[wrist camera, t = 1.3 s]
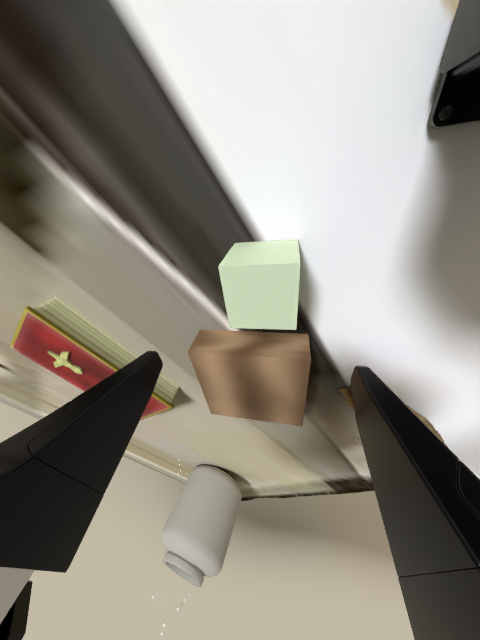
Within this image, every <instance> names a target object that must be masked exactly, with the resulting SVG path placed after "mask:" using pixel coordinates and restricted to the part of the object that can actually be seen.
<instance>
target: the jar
mask: <svg viewBox="0 0 480 640" xmlns="http://www.w3.org/2000/svg"><path fill="white" fill-rule="evenodd" d="M179 461H180V460H179ZM179 465H180V464H179ZM180 471H181V470H180ZM178 474H179V473H178ZM241 498H242V495H241V490H240V488H239V486H238V484H237V483H236V481H235V480H234V479H233V478H232V477H231V476H230V475H228V474H227V473H226V472H224V471H222V470H221V469H219V468H216V467H214V466H210V465H200V466H197V467H196V468H194V469H193V471H192V472H191V474H190V476H189V478H188V480H187V482H186V484H185V486H184V488H183V490H182V492H181V494H180V496H179V498H178V500H177V502H176V504H175V506H174V508H173V510H172V512H171V514H170V516H169V518H168V520H167V522H166V524H165V526H164V528H163V531H162V536H161V537H162V542H163V546H164V547H165V549H166V550H167V551H168V552H167V553H166V554H165V556H164V559H163V562H164V563H165V565H166V566H168V567H169V568H170V569H171V570H172V571H174V572H175V573H176V574H178V575H179V576H181V577H182V578H183V579H185V580H186V581H188V582H190V583H192V584H193V585H195V586H198V587H199V589H200V587H201V586H202V583H203V580H204V577H203V576H206V577H212V576H215V575H217V574H218V573H219V572H220V571H221V569H222V566H223V562H224V559H225V556H226V552H227V549H228V545H229V541H230V538H231V534H232V531H233V528H234V524H235V520H236V517H237V513H238V510H239V506H240V503H241ZM159 593H160V592H158V594H159ZM190 596H191V594H190ZM152 599H154V596H153V597H152ZM185 600H186V599H184V601H185ZM160 603H161V601H160ZM182 605H183V603H181V606H182ZM177 611H179V608H177ZM165 626H166V622H164V623H163V627H165ZM163 634H164V632H163V631H162V632H161V635H162V636H163Z"/></svg>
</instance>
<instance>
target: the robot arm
mask: <svg viewBox="0 0 480 640" xmlns="http://www.w3.org/2000/svg"><path fill="white" fill-rule="evenodd" d="M440 70H441V72H442V73H443V74H442V78H441V81H440V84H439V87H438V90H437V94H436V97H435V100H434V103H433V106H432V110H431V113H430V116H429V125H430V126H431V127H432V128H440V127H446V126H452V125H458V124H464V123H470V122H476V121H480V0H460V1H459V4H458V8H457V11H456V14H455V17H454V21H453V24H452V27H451V31H450V34H449V37H448V41H447V44H446V47H445V50H444V54H443V57H442V60H441V64H440ZM443 108H446V109H447V115H446V116H445V118H444V119H443V120H440V119H439V114H440V112H441V110H442V109H443ZM162 365H163V363H162V360H161V358H160V357H159V355H158V353H157V352H156V351H147V352H146V353H144V354H143V355H141V356H139V357H138V358H136V359H135V360H133V361H132V362H130V363H129V364H127V365H126V366H124V367H122V368H121V369H119V370H118V371H116V372H115V373H113V374H112V375H110V376H108V377H107V378H105V379H104V380H102V381H101V382H99V383H98V384H96V385H95V386H93V387H91V388H90V389H88V390H87V391H85V392H84V393H82V394H81V395H79V396H77V397H76V398H74V399H73V400H72V401H70V402H68V403H67V404H65V405H63V406H62V407H60V408H59V409H57V410H56V411H54V412H52V413H51V414H49V415H48V416H46V417H44V418H43V419H41V420H39V421H38V422H36V423H34V424H32V425H31V426H29V427H27V428H26V429H24V430H22V431H21V432H19V433H17V434H15V435H14V436H12V437H10V438H8V439H7V440H5V441H3V442H1V443H0V640H22V638H23V636H24V634H25V631H26V624H27V616H28V610H29V603H30V595H31V588H32V581H30V580H29V578H30V577H31V575H32V573H33V572H34V570H41V571H53V572H64V573H65V572H66V571H67V569H68V568H69V566H70V564H71V562H72V560H73V558H74V556H75V554H76V552H77V550H78V548H79V545H80V543H81V541H82V539H83V537H84V535H85V533H86V531H87V529H88V527H89V525H90V523H91V521H92V518H93V516H94V514H95V512H96V510H97V508H98V506H99V504H100V502H101V500H102V498H103V494H104V493H105V491H106V489H107V487H108V485H109V483H110V481H111V479H112V477H113V475H114V473H115V470H116V468H117V466H118V464H119V462H120V460H121V458H122V456H123V454H124V452H125V450H126V448H127V446H128V444H129V441H130V439H131V437H132V435H133V433H134V431H135V429H136V427H137V425H138V423H139V421H140V419H141V417H142V414H143V412H144V410H145V408H146V406H147V404H148V402H149V400H150V398H151V396H152V393H153V391H154V388H155V385H156V383H157V380H158V377H159V374H160V372H161V369H162ZM351 388H352V395H353V402H354V409H355V416H356V422H357V426H358V430H359V433H360V437H361V441H362V445H363V448H364V452H365V456H366V459H367V463H368V467H369V471H370V474H371V478H372V482H373V486H374V489H375V493H376V497H377V500H378V504H379V508H380V511H381V515H382V519H383V523H384V526H385V530H386V534H387V538H388V541H389V545H390V549H391V553H392V556H393V559H394V563H395V567H396V571H397V575H398V577H399V578H398V579H399V583H400V586H401V590H402V594H403V598H404V601H405V605H406V609H407V612H408V616H409V620H410V624H411V628H412V631H413V635H414V639H415V640H480V479H479V478H478V477H477V476H476V475H475V474H474V473H473V472H472V471H471V470H470V469H469V468H468V467H467V466H466V465H465V464H464V463H463V462H462V461H459V459H458V457H457V456H456V455H455V454H454V453H453V452H452V451H451V450H450V449H449V448H448V447H447V446H446V445H445V444H444V443H443V442H442V441H441V440H440V439H439V438H438V437H437V436H436V435H435V434H434V433H433V432H432V431H431V430H430V429H429V428H428V427H427V426H426V425H425V424H424V423H423V422H422V421H421V420H420V419H419V418H418V417H417V416H416V415H415V414H414V413H413V412H412V411H411V410H410V409H409V408H408V407H407V406H406V405H405V404H404V403H403V402H402V401H401V400H400V399H399V398H398V397H397V396H396V395H395V394H394V393H393V392H392V391H391V390H390V389H389V388H388V387H387V386H386V385H385V384H384V383H383V382H382V381H381V380H380V379H379V378H378V377H377V376H376V375H375V373H374V372H373V371H372V370H371V369H370V368H368V367H366V366H356V367H355V368H354V371H353V374H352V377H351Z"/></svg>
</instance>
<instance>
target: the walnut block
mask: <svg viewBox="0 0 480 640" xmlns="http://www.w3.org/2000/svg"><path fill="white" fill-rule="evenodd" d="M188 354H189V356H190V359H191V362H192V364H193V367H194V370H195V372H196V375H197V377H198V380H199V383H200V385H201V388H202V391H203V393H204V396H205V398H206V401H207V404H208V406H209V409H210V412H211V414H217V415H224V416H231V417H239V418H246V419H253V420H260V421H268V422H275V423H282V424H289V425H297V426H302V425H303V418H304V410H305V403H306V395H307V387H308V380H309V372H310V365H311V354H310V345H309V336H308V334H299V333H272V332H246V331H219V330H200V331H199V333H198V335H197V336H196V338H195V340H194V342H193V344H192V345H191V347H190V349H189V351H188Z"/></svg>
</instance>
